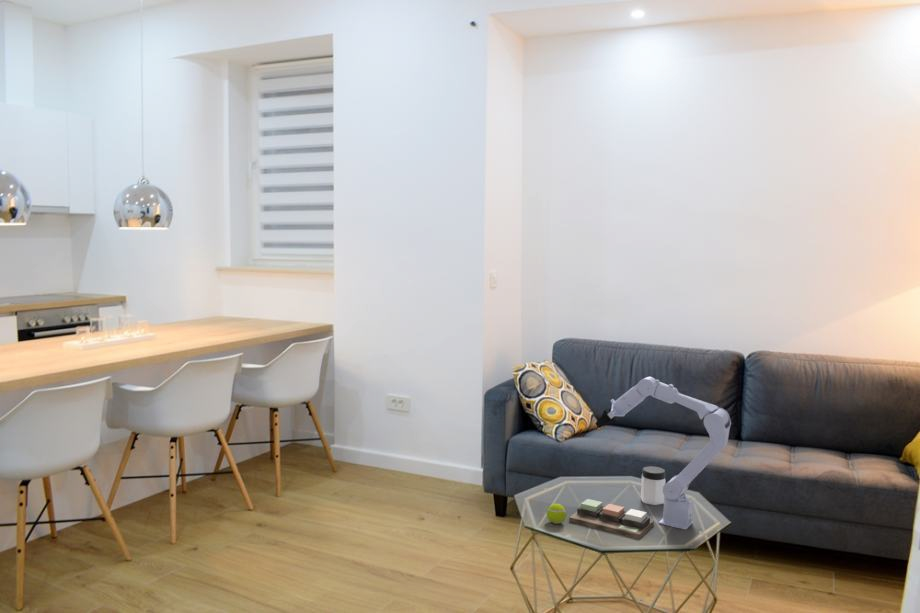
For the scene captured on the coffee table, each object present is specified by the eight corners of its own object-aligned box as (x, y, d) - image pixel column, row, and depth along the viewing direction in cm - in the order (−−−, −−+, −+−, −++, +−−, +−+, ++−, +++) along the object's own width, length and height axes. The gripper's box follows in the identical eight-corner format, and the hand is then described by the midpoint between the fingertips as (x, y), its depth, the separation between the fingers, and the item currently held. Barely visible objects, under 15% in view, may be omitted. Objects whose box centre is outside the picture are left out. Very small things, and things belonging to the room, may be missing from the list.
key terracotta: (624, 512, 268) (624, 507, 267) (618, 517, 263) (618, 512, 263) (608, 509, 271) (608, 503, 270) (602, 514, 266) (602, 508, 266)
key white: (646, 518, 263) (646, 512, 263) (640, 523, 259) (641, 517, 258) (630, 514, 266) (631, 508, 266) (624, 519, 262) (625, 513, 261)
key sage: (602, 507, 272) (602, 502, 272) (595, 512, 267) (596, 507, 267) (587, 504, 275) (587, 498, 275) (580, 509, 270) (581, 503, 270)
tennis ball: (558, 528, 260) (559, 509, 259) (542, 523, 265) (542, 504, 264) (569, 523, 265) (570, 504, 264) (553, 517, 270) (554, 499, 269)
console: (653, 525, 265) (654, 515, 265) (639, 538, 253) (639, 529, 253) (585, 509, 278) (586, 500, 278) (569, 521, 267) (569, 512, 266)
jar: (638, 496, 292) (640, 465, 291) (660, 497, 292) (662, 466, 291) (643, 505, 283) (644, 473, 282) (666, 506, 283) (667, 474, 282)
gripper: (627, 387, 279) (600, 408, 286) (614, 397, 267) (586, 419, 273) (640, 402, 278) (612, 423, 284) (628, 413, 265) (599, 435, 272)
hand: (601, 422), depth 278 cm, fingers open, 7 cm apart
